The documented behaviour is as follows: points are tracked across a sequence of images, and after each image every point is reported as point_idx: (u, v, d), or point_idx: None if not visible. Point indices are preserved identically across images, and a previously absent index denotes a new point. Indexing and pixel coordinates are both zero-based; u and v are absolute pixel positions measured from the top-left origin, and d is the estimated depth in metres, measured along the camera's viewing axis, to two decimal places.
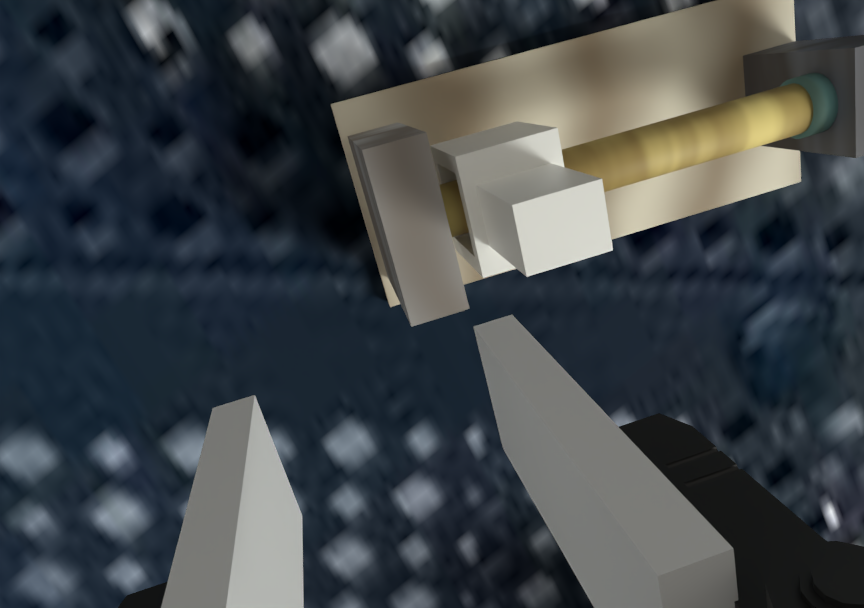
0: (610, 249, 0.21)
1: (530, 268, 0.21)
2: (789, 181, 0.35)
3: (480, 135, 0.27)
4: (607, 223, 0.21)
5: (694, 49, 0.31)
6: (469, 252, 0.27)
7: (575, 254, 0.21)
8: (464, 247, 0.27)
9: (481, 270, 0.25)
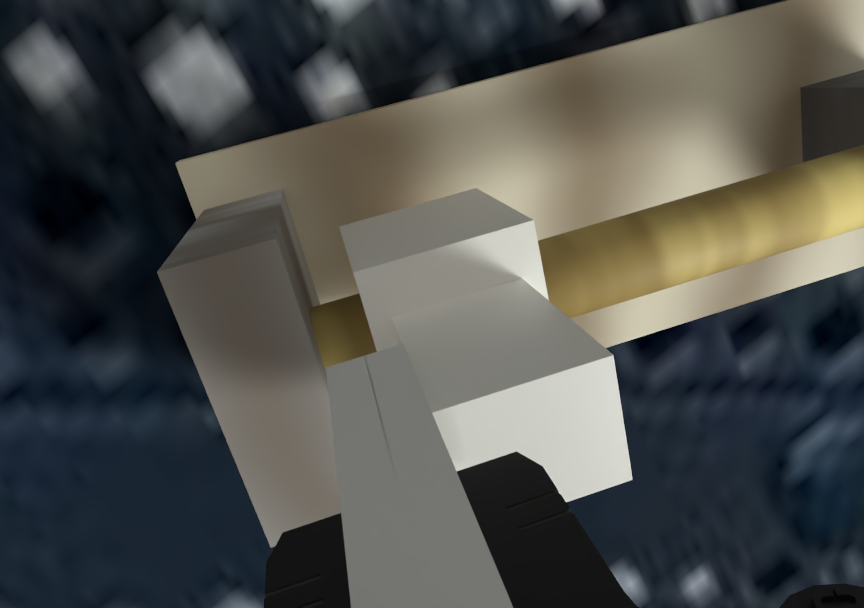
0: (627, 478, 0.11)
1: None
2: (859, 262, 0.25)
3: (414, 215, 0.17)
4: (622, 434, 0.11)
5: (730, 79, 0.21)
6: None
7: (560, 491, 0.11)
8: None
9: None
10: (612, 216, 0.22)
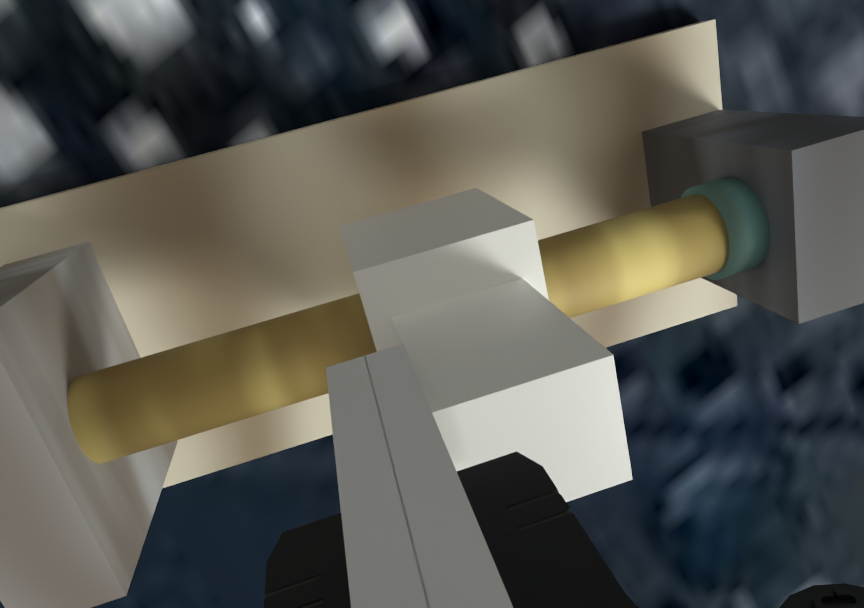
0: (627, 478, 0.11)
1: None
2: (720, 306, 0.24)
3: (414, 215, 0.17)
4: (622, 433, 0.11)
5: (565, 124, 0.21)
6: None
7: (560, 491, 0.11)
8: None
9: None
10: None
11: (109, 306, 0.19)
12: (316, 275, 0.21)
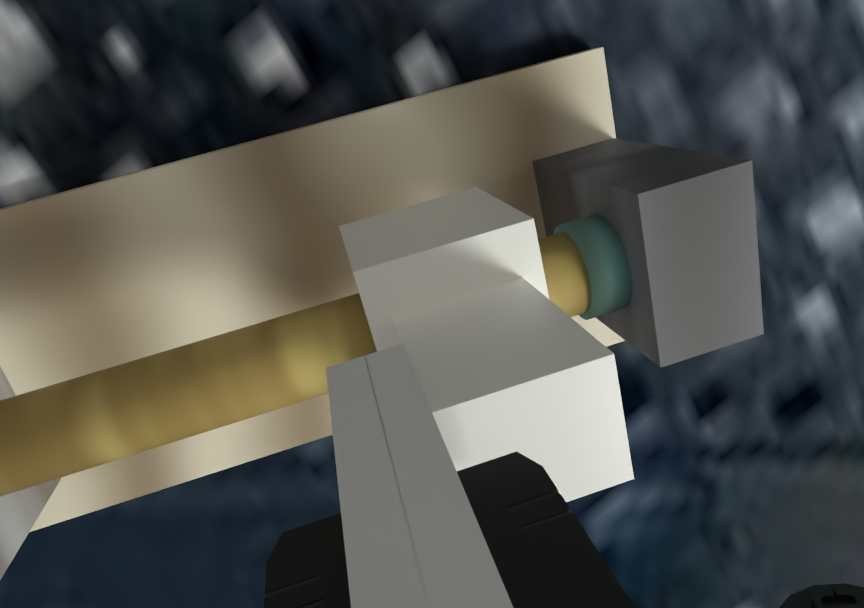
0: (629, 478, 0.11)
1: None
2: None
3: (414, 214, 0.17)
4: (624, 433, 0.11)
5: (450, 154, 0.20)
6: None
7: (561, 491, 0.11)
8: None
9: None
10: (337, 297, 0.21)
11: None
12: (197, 310, 0.20)
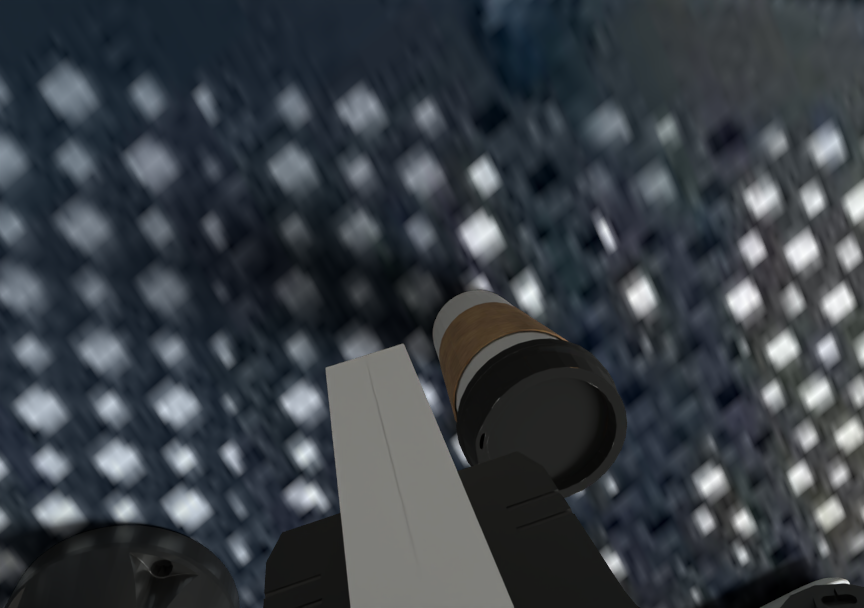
0: None
1: None
2: None
3: None
4: None
5: None
6: None
7: None
8: None
9: None
10: None
11: None
12: None
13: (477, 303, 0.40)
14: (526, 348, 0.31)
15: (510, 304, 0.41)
